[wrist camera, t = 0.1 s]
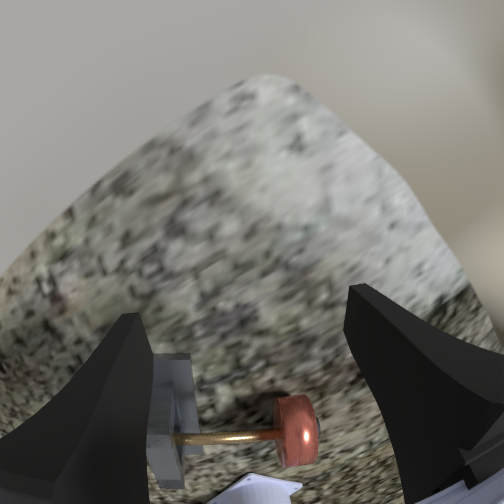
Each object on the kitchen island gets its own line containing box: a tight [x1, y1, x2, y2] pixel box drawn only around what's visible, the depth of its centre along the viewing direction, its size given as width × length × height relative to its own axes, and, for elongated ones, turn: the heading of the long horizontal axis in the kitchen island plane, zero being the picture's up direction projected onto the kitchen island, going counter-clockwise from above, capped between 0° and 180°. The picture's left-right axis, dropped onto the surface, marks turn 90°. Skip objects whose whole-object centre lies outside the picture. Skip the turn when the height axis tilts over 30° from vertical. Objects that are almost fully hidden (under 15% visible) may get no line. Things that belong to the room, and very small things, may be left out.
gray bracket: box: [146, 354, 203, 489], centre depth 22 cm, size 5×12×6 cm, turn 179°
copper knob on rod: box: [173, 394, 320, 468], centre depth 22 cm, size 17×6×6 cm, turn 89°
